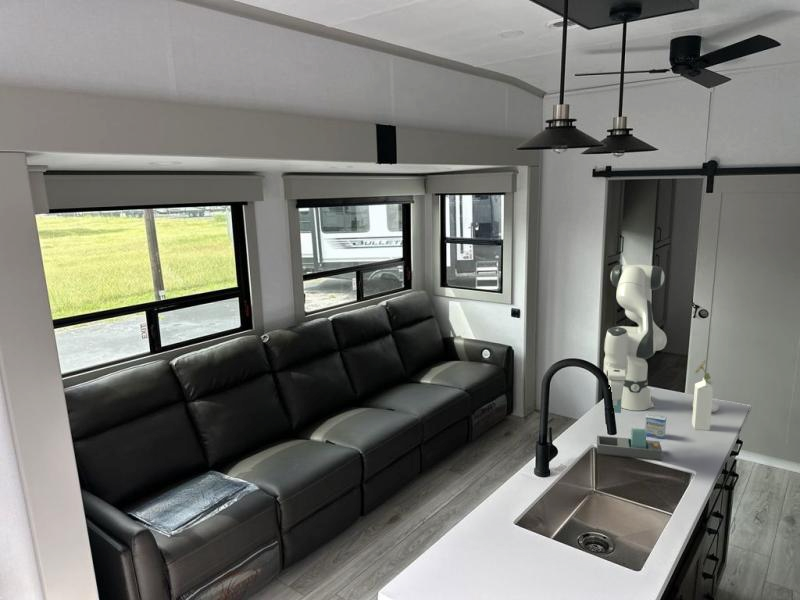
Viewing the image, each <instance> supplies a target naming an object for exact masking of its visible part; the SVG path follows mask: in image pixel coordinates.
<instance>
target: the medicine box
mask: <svg viewBox="0 0 800 600" xmlns="http://www.w3.org/2000/svg"><path fill="white" fill-rule="evenodd" d="M666 424H667V416H663V415H656V414H649V413H646V414H645V422H644V429H645V431H646V437H647V438H648V437H649V438H654V437H655V438H656V439H661V440H665V437H666V428H667V427H666ZM655 438H654V439H655Z"/></svg>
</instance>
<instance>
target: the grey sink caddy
mask: <svg viewBox="0 0 800 600" xmlns="http://www.w3.org/2000/svg"><path fill="white" fill-rule="evenodd" d="M630 434H631V435H630V437H629V438H627V437H617V436H606V435H596V454H597V455H602V456H603V455H604V456H612V457H613V456H614V457H623V458H632V459H640V460H641V459H642V460H652V461H660V460H661V461H662V460H663V449H662V446H661V441H660V440H659V441H658V440H652V439H651V440H649V439H648V440H647V436H646V431H645V428H635V427H634V428H633V427H632V428H631V433H630Z"/></svg>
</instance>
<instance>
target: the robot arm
mask: <svg viewBox="0 0 800 600" xmlns="http://www.w3.org/2000/svg"><path fill="white" fill-rule="evenodd" d="M610 281H611V284H612V285H613V286H614V287H616V292H615V293H616V294H615V295H616V296H615V297H616V301H617V303H618V304H619V306H621V308H623V309H624V314H625V316H626V317H627V318H628V319H629V320H631V321H632V322H635V323H636V324H637V325H638V326H625V325H621V326H613V327H610V328H608V329H607V331H606V335H605V337H604V341H603V350H604V354H605V355H604V358H603V373H604V374H605V376H606V377H607V379H608V385H610V387H611V392H612V400H613V405H617V401H618V400H620V399H621V398H622V401H621V409H624V410H627V411H628V410H629V411H636V412H637V411H646V410H647V409H648V410H649V409H650V408H655V404H654V402H652V400H651V397H652V396H651V393H652V391H651V389H650V388H649V387H648V385H649V384H648V383H649V381H648V380H649V379H648V362H647V360H648V359H650V358H651V357H653V356H654V355H655V353H656V352H657V351H661V350H663V349H665V347H666V345H667V342H668V340H667V335H666V332H664V331H663V329H661V328H660V327H659V326H658V325H657V324H656V323H655V321H654V317H653V308H652V293H653V292H652V291H654V290H658V289H660V288H662V286H663V284H664V282H665V273H664V270H663V268H662V266H661V267H660V266H657V265H648V264H640V263H638V264H616V265H615V266H613V268H612V270H611V272H610ZM610 387H609V388H610Z"/></svg>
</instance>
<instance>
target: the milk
mask: <svg viewBox="0 0 800 600" xmlns="http://www.w3.org/2000/svg"><path fill="white" fill-rule="evenodd" d="M704 378H705V377H703V378H702V380H703V381H700V380H699V381H698V382H695V383H694V391H693V392H694V394H693V401H694V403H693V406H692V419H691V425H692V426H693V428H694V430H701V431H710V430H711V419H712V412H711V408H712V400H713V396H714V395H713V394H714V388H713V387H712V385H710V384H708V383H706V381H705V380H706V379H704Z"/></svg>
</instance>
